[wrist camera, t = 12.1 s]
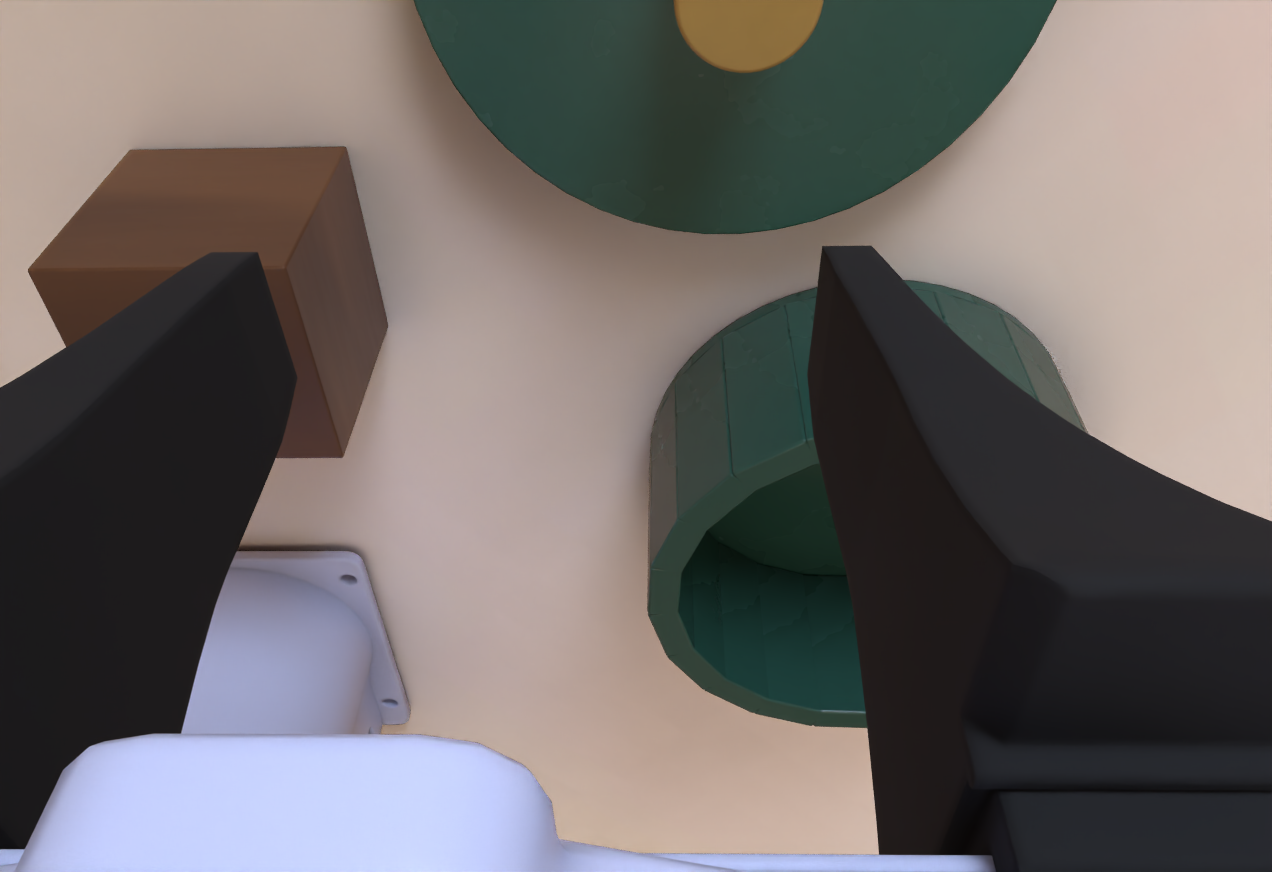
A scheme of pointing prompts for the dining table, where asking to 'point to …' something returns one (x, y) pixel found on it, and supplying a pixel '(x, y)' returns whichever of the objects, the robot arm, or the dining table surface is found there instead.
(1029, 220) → the dining table surface
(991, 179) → the dining table surface
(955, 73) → the lid
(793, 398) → the tin
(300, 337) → the block
